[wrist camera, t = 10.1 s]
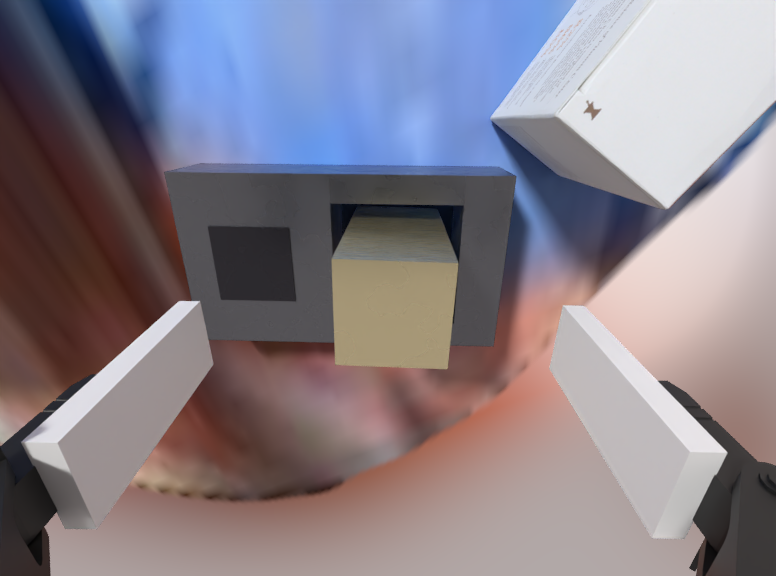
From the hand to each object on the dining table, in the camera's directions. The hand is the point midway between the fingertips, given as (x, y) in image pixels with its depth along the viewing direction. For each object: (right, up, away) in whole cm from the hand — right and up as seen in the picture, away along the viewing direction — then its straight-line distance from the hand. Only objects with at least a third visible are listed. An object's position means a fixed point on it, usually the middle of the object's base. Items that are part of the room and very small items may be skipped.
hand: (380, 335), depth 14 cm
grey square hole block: (-2, +5, +11) cm, 12 cm away
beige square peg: (+1, +5, +11) cm, 12 cm away
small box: (+10, +13, +7) cm, 18 cm away
